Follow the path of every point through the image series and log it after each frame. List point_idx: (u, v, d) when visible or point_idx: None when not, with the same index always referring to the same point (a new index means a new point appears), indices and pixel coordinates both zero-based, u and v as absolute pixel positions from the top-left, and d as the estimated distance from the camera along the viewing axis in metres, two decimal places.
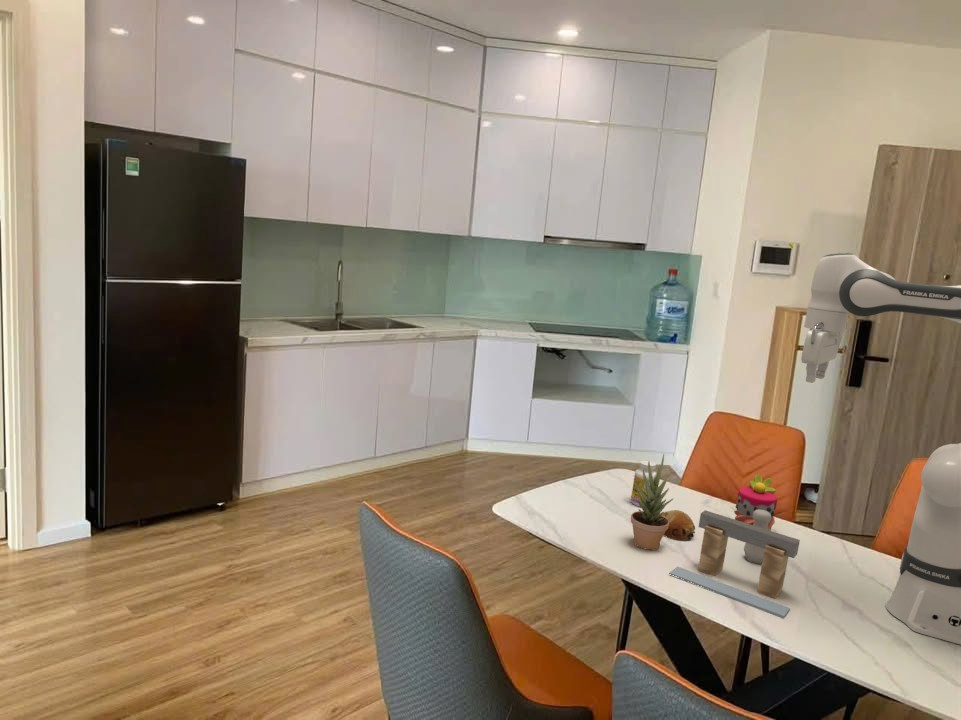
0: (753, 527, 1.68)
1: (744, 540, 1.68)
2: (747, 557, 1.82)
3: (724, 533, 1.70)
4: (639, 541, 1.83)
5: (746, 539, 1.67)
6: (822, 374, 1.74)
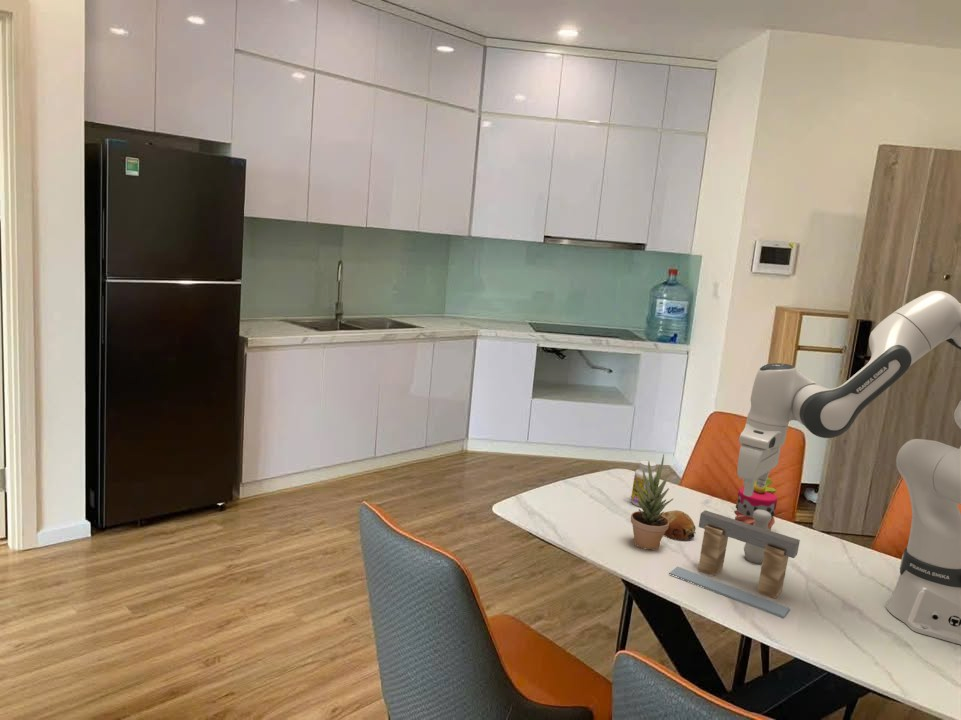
0: (753, 527, 1.68)
1: (744, 540, 1.68)
2: (747, 557, 1.82)
3: (724, 533, 1.70)
4: (639, 541, 1.83)
5: (746, 539, 1.67)
6: None
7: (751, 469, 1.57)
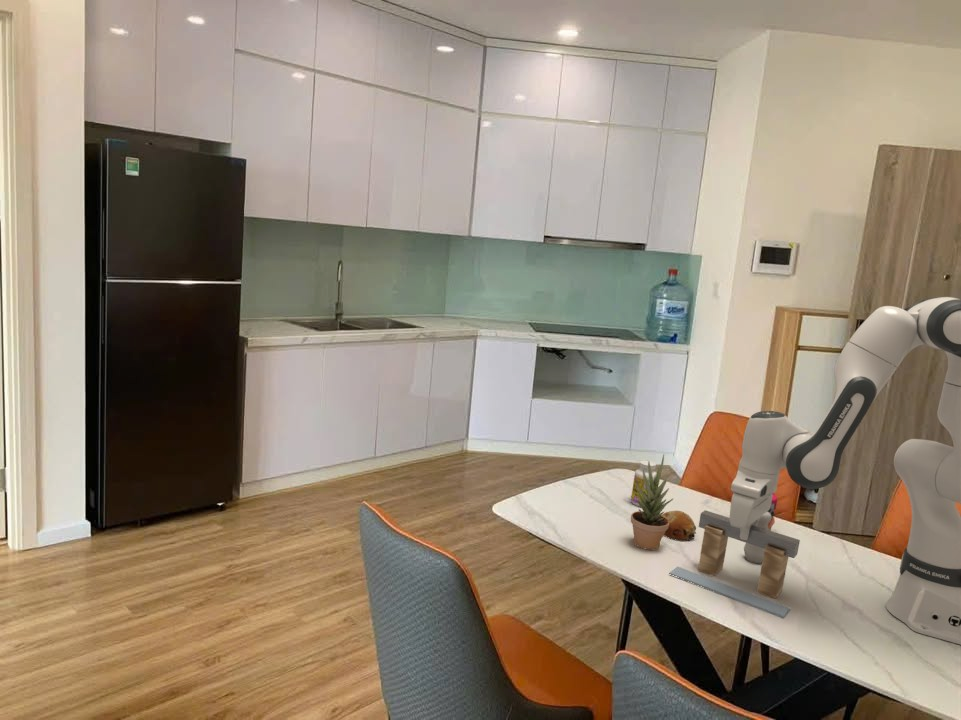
0: (753, 527, 1.68)
1: (744, 540, 1.68)
2: (747, 557, 1.82)
3: (724, 533, 1.70)
4: (639, 541, 1.83)
5: None
6: None
7: (743, 517, 1.59)
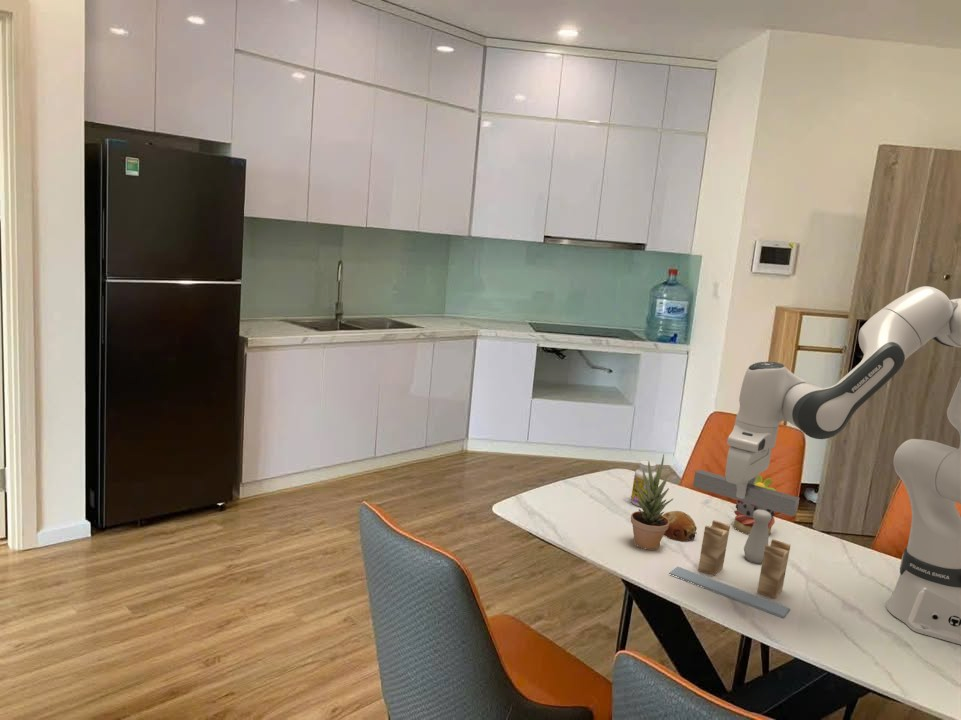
0: (750, 485, 1.59)
1: (741, 499, 1.59)
2: (747, 557, 1.82)
3: (720, 492, 1.62)
4: (639, 541, 1.83)
5: None
6: None
7: (740, 472, 1.50)
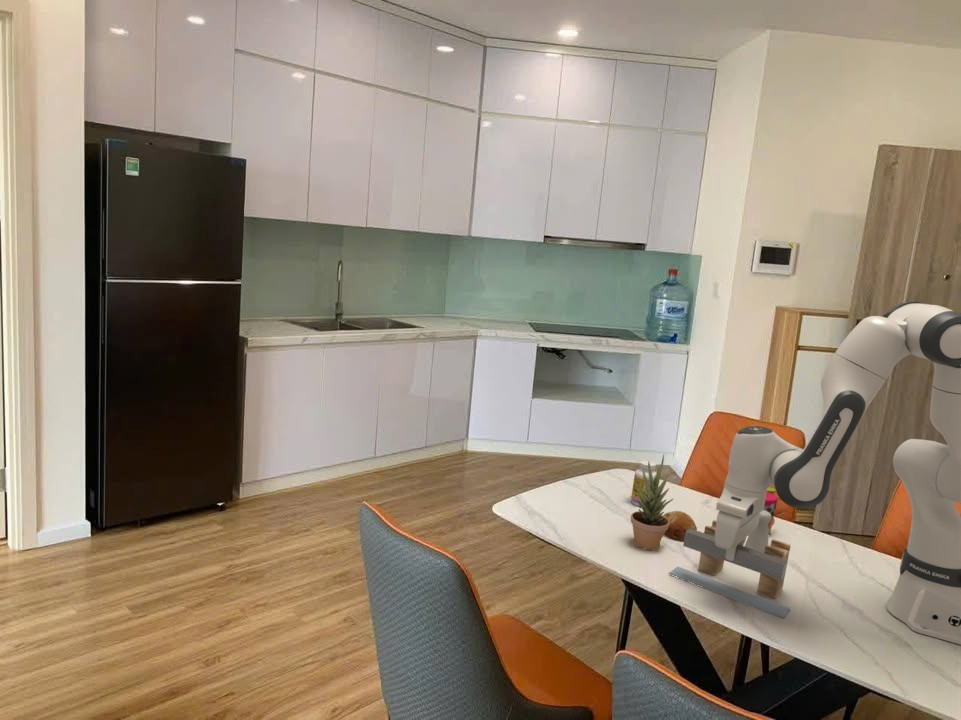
0: (739, 547, 1.61)
1: None
2: None
3: (709, 553, 1.64)
4: (639, 541, 1.83)
5: None
6: None
7: (729, 538, 1.52)
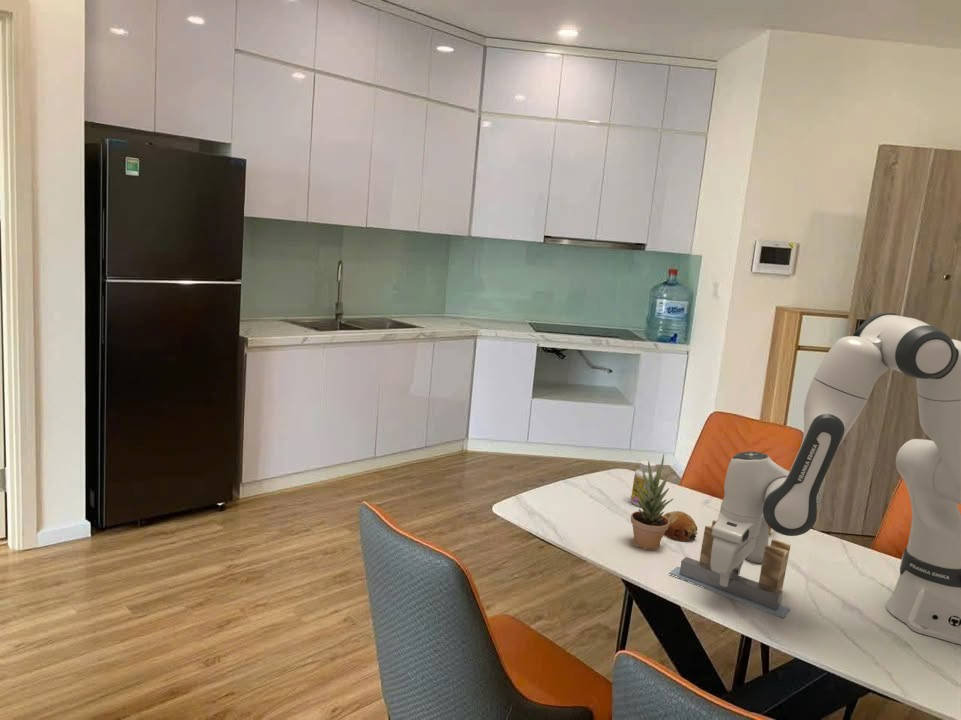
0: (734, 576, 1.63)
1: (726, 590, 1.63)
2: (747, 557, 1.82)
3: (705, 582, 1.65)
4: (639, 541, 1.83)
5: (727, 589, 1.62)
6: None
7: (724, 563, 1.54)
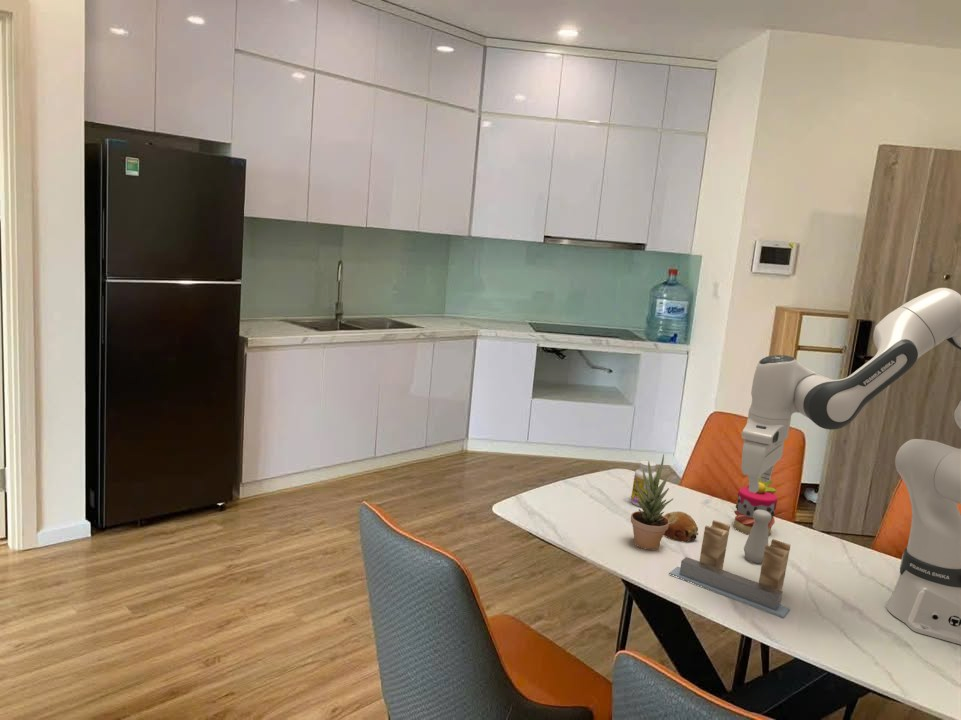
0: (734, 576, 1.63)
1: (726, 590, 1.63)
2: (747, 557, 1.82)
3: (705, 582, 1.65)
4: (639, 541, 1.83)
5: (727, 589, 1.62)
6: None
7: (755, 465, 1.54)
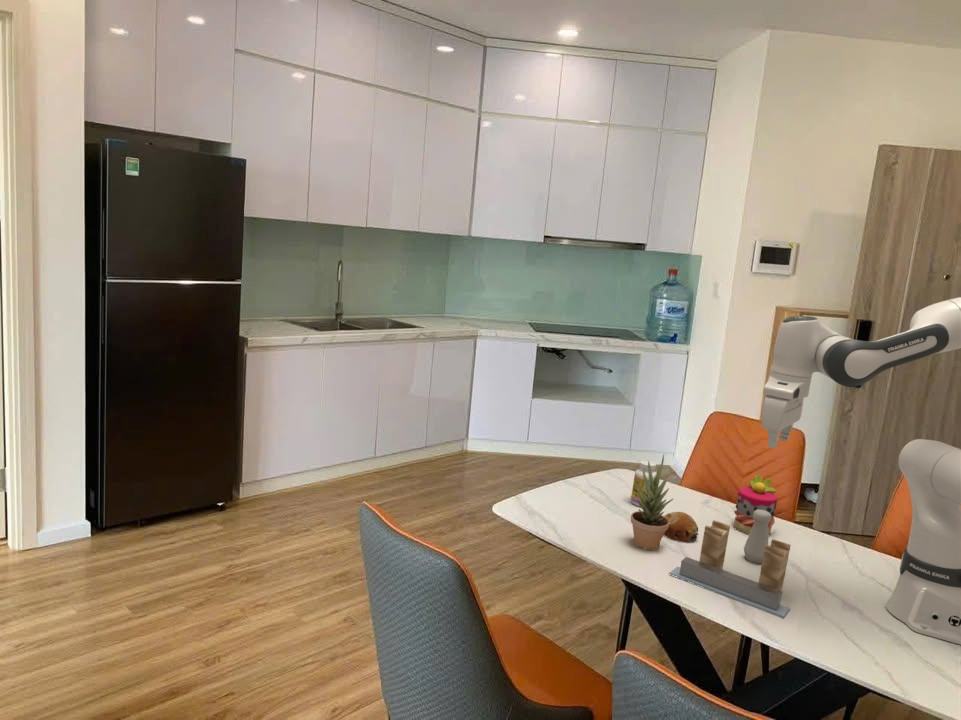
0: (734, 576, 1.63)
1: (726, 590, 1.63)
2: (747, 557, 1.82)
3: (705, 582, 1.65)
4: (639, 541, 1.83)
5: (727, 589, 1.62)
6: None
7: (776, 419, 1.58)
